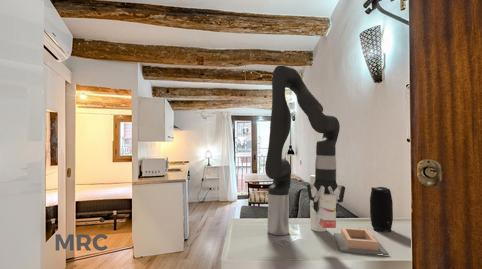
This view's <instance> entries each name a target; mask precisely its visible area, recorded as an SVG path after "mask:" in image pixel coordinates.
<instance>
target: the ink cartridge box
mask: <svg viewBox="0 0 482 269" xmlns="http://www.w3.org/2000/svg"><path fill="white" fill-rule="evenodd" d="M324 189H325V188H324V187H323V186H321V191H320V192H321V194H320V197H319V198H318V200H317V202H318V210H317V212H315V221H316V222H317V223H318V224H319V225H321V226H322V227H323V228H326V229H336V228H337V212H336V199H337V195H336V194H335V195H333V194H324ZM316 192H317V189H316ZM316 192H315V195H316Z"/></svg>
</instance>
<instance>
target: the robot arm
mask: <svg viewBox="0 0 482 269" xmlns="http://www.w3.org/2000/svg"><path fill="white" fill-rule="evenodd" d="M271 75H272V77H271V91H272V92H271V93H272V94H271V113H270V123H269V124H270V125H269V138H268V146H267V153H266V159H265V163H264V164H265V165H264V166H265V167H264V171H265V174H266V175H265V176H267V178H269V179H270V180H273V181H272V183H271V184H270V185H269V187H268V189H267V190H268V195H267V198H268V199H267V200H268V202H267V234H271V235H275V236H285V235H288V234H289V232H290V230H289V229H290V221H289V220H290V218H289V217H290V216H289V215H290V209H289V208H290V206H289V204H290V200H289V198H290V197H289V196H290V195H289V192H290V188H291V183H292V180H291V179H292V178H291V177H292V167H291V164H290V162H289V161H288V160H287V159H285V158H283V149H284V146H285V143H286V142H287V140H288V137H289V135H290V132H291V126H292V113H291V110H290V107H289V105H288V102H287V100H286V89H289V90H290V91H292V93H294V94H295V96H296V100H297V104H298V107H299V108H300V109H301V110H302V112H303V113H304V114H305V116H306V117H307V118H308V121H309V124H310V126H311V127H312V129H313V131H315V132H316V133H318V134H322V137H321V139H320V140H319V139H318V140H317V141H316V146H315V148H316V149H315V156H316V157H315V162H314V163H315V164H314V167H315V169H314V170H315V173H314V175H315V182H314V183H313V184H310V182H309V183H308V182H307V183H306V188H307V194H308V200H309V201H310V200H312V201H313V208H314V210H315V212H317V210H318V202H317V200H318V198H319V197H320V194H321V192H320V191H321V186H323V187H324V188H325V189H324V194H333V195H336V194H335V191H336V190H337V189H338V191H339V192H338V193H339V194H338V198H336V213H338V204H339V203H343V202H344V198H345V197H344V196H345V192H346V187H345V186H344V185H340V184H338V183H337V159H336V158H337V156H336V152H337V151H336V145H337V142H338V137H339V133H340V122H339V119H338V118H337V117H335V116H333V115H327V114H324V107H323V105H322V104H321V103H320V102H319V100H318V99H317V98H316V97H315V95H313V93H311V91H310V89H308V87H307V85H306V84H305V82H304V81H303V79H302V77H301V76H300V74H299V72H298V71H297V70H296V69H295V68H293V67H289V66H286V65H284V64H278V65H277V66H275V67H274V69H273V72H272V74H271ZM313 186H315V188H316V189H317V192H316V195H315V197H312V194H311V189H313Z"/></svg>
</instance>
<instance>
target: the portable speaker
mask: <svg viewBox="0 0 482 269" xmlns="http://www.w3.org/2000/svg"><path fill="white" fill-rule="evenodd" d="M391 192H392V191H391V189H390V188H388V187H386V186H385V187H384V186H378V187H371V191H370V196H369V210H370V211H369V214H370V216H369V218H370V222H371V226H372V227H371V228H373V230H374V231H376V232H380V233H383V232H384V231H388V232H389V233H390V232H392V227H393V220H394V211H393V209H394V208H393V207H394V206H393V205H394V204H393V197H392V193H391Z"/></svg>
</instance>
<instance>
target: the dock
mask: <svg viewBox="0 0 482 269" xmlns="http://www.w3.org/2000/svg"><path fill="white" fill-rule="evenodd" d="M333 237H334V239H335V241H336V244H337V247H338V248H339V251H340V253H349V254H350V253H352V254H363V255H370V254H383V255H389V254H390V253H389V252H388V251H387V250H386V248H385V247H384V246H383V245H382V244H381V243H380V242H379V240H378V239H377V238H376V237H375V236H374V235H373V234H372V233H371V231H369V230H368V228H367V229H366V228H364V229H362V228H352V227H350V228H349V227H340V232H333ZM389 256H390V255H389Z"/></svg>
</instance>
